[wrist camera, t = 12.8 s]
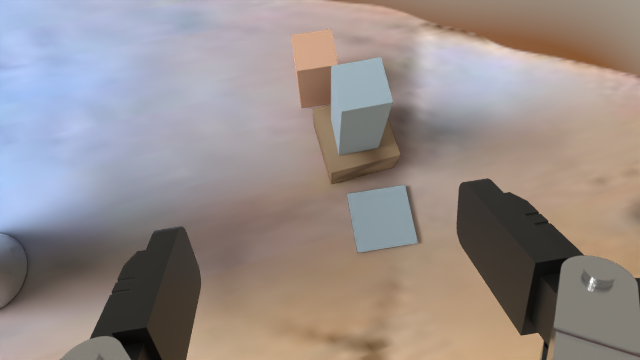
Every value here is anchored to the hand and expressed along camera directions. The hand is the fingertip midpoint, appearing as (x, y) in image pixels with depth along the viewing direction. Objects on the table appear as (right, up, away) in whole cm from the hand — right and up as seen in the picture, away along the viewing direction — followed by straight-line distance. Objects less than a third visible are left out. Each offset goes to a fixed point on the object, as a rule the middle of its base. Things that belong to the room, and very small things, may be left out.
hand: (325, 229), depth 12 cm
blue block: (+4, +7, +34) cm, 35 cm away
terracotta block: (-1, +13, +41) cm, 43 cm away
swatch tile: (+7, -3, +36) cm, 37 cm away
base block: (+4, +6, +39) cm, 39 cm away
